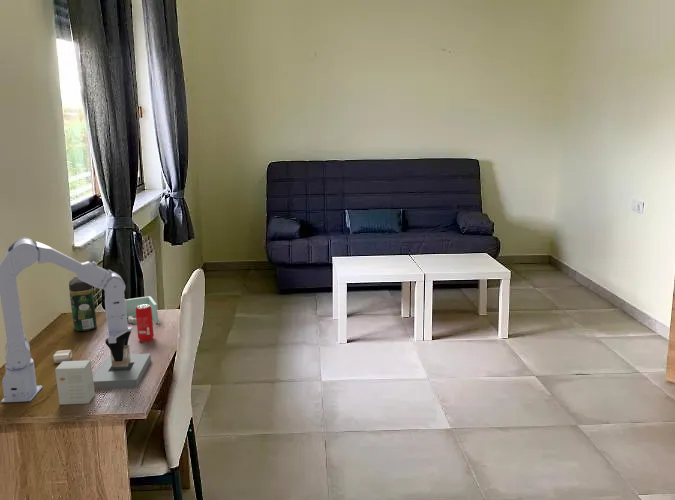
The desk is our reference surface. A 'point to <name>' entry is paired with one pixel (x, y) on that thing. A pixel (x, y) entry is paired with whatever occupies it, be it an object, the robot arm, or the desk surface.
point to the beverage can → (144, 322)
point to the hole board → (121, 373)
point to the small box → (75, 382)
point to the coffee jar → (82, 305)
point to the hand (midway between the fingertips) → (120, 357)
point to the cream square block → (125, 360)
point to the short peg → (62, 356)
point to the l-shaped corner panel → (135, 302)
